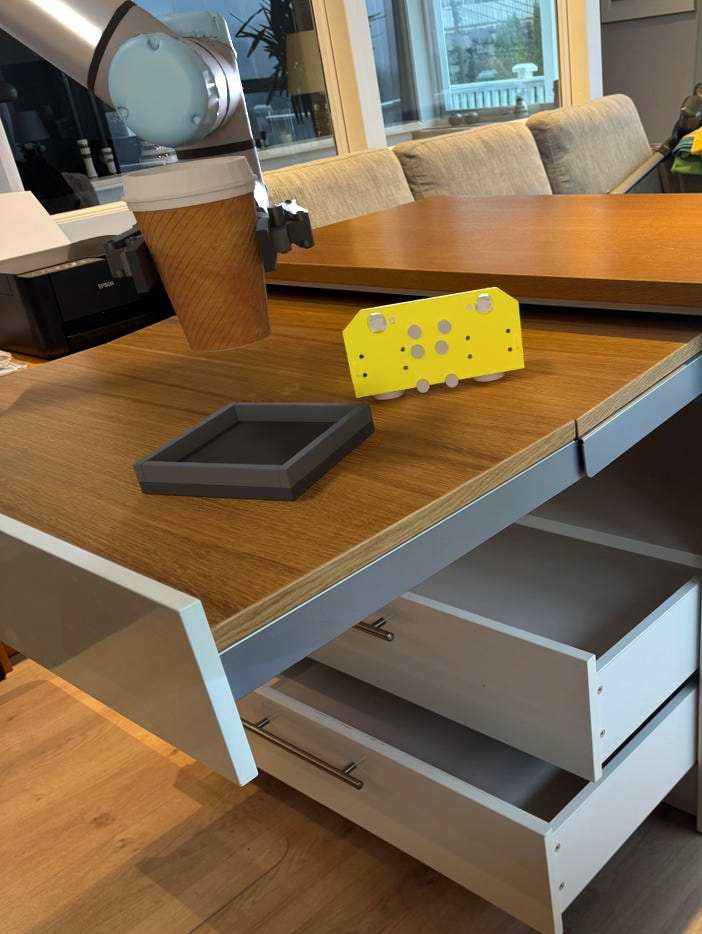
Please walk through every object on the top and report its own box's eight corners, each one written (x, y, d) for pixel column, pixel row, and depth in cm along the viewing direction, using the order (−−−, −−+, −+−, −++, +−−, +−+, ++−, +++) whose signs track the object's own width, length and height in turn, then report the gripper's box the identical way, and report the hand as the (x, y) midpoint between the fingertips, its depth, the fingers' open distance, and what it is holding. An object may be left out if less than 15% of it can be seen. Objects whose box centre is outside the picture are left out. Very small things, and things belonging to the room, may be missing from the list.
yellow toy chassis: (358, 408, 83) (339, 315, 78) (353, 390, 87) (336, 301, 83) (526, 377, 84) (517, 284, 79) (513, 362, 89) (504, 273, 84)
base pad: (142, 493, 71) (131, 464, 70) (238, 428, 82) (231, 402, 80) (293, 501, 66) (285, 469, 65) (375, 430, 77) (369, 402, 76)
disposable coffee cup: (292, 315, 73) (254, 151, 67) (292, 344, 65) (249, 161, 59) (176, 335, 73) (126, 170, 66) (161, 367, 65) (103, 183, 58)
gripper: (347, 244, 83) (362, 293, 64) (120, 281, 82) (67, 342, 63) (330, 153, 79) (341, 177, 60) (90, 190, 78) (24, 226, 59)
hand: (201, 261), depth 62 cm, fingers closed on disposable coffee cup, 8 cm apart
